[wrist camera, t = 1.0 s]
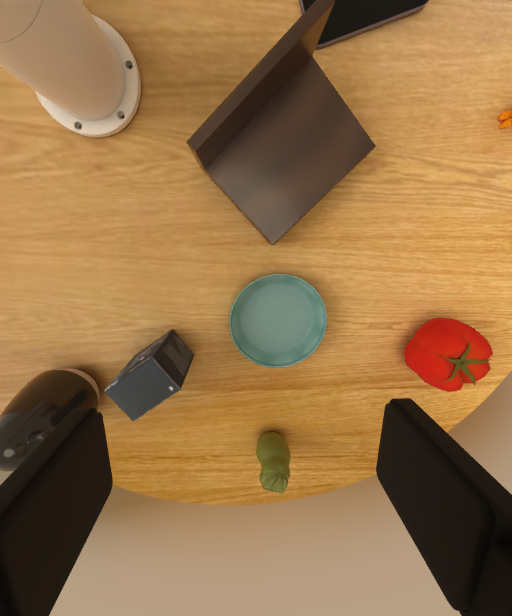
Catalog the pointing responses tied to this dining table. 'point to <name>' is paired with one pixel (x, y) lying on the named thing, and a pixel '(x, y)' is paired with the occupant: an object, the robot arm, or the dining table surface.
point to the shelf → (282, 133)
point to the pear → (273, 461)
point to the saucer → (278, 320)
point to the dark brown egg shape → (42, 411)
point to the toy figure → (505, 116)
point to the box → (151, 376)
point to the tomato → (448, 354)
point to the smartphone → (360, 16)
